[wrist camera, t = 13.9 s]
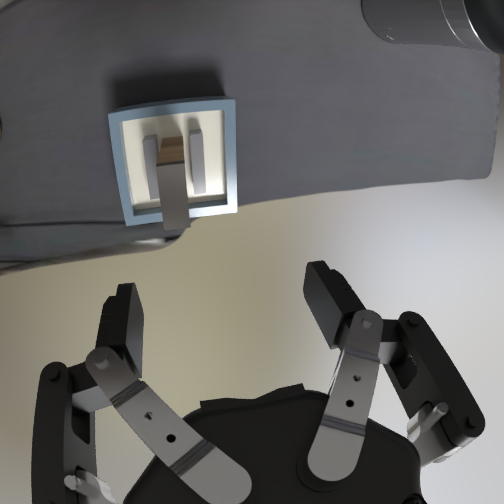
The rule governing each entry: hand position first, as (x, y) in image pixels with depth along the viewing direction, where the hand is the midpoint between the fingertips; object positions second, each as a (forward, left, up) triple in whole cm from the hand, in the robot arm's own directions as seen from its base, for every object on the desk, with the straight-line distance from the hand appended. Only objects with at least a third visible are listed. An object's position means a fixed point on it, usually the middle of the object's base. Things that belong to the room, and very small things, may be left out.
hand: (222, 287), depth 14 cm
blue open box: (-1, -2, -25) cm, 25 cm away
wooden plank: (-1, -2, -20) cm, 20 cm away
